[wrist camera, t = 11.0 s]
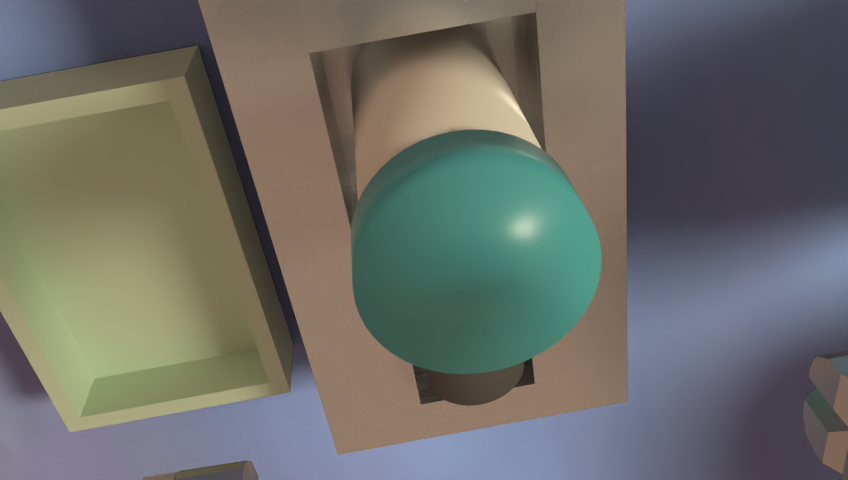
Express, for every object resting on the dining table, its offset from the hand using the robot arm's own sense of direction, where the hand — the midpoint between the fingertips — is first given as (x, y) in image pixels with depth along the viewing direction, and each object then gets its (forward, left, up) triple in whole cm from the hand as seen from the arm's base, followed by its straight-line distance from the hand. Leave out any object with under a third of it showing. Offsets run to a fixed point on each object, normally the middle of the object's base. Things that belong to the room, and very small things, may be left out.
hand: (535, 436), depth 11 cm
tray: (+11, +4, -16) cm, 19 cm away
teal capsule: (0, 0, -14) cm, 14 cm away
